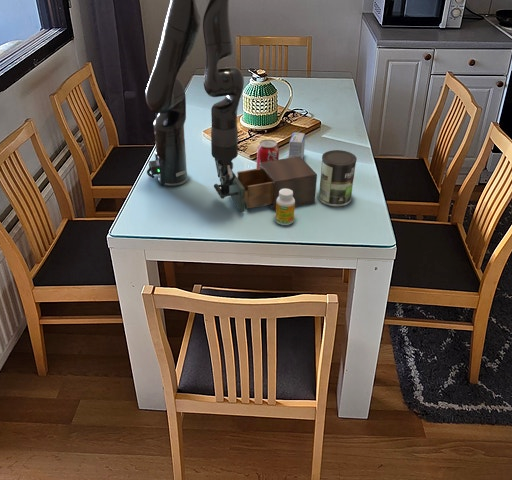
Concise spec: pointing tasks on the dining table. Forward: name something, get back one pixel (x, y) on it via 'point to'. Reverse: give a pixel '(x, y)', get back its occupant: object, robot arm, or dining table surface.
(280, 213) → the supplement bottle
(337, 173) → the coffee can
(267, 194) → the drawer
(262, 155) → the soda can
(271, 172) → the cabinet
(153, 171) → the robot arm
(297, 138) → the medicine box
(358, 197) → the dining table surface
